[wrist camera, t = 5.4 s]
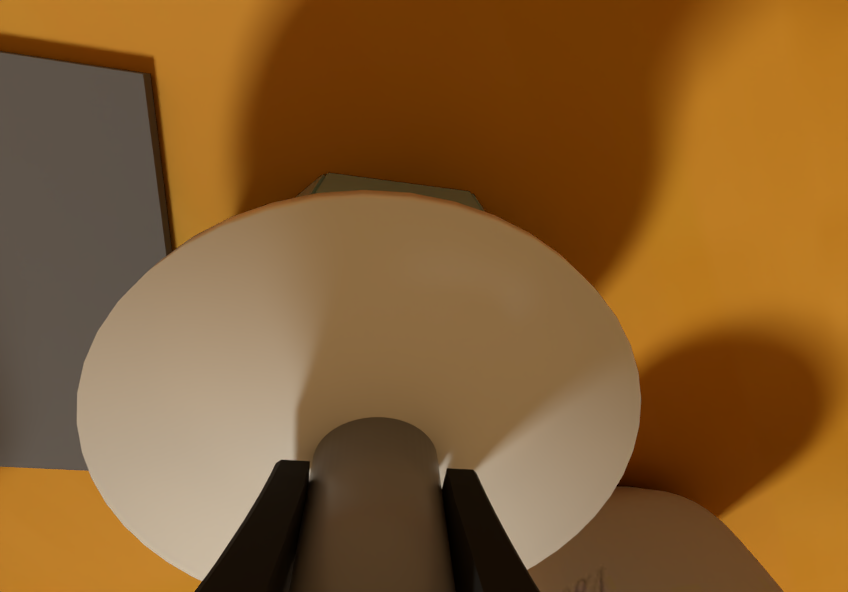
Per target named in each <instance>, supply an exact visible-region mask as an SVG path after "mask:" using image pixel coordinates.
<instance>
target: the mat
mask: <svg viewBox="0 0 848 592" xmlns="http://www.w3.org/2000/svg"><path fill="white" fill-rule="evenodd" d="M171 252H172V247H171V239H170V231H169V223H168V214H167V206H166V198H165V190H164V181H163V173H162V165H161V157H160V149H159V140H158V132H157V124H156V116H155V107H154V99H153V91H152V83H151V75H150V74H148V73H141V72H135V71H128V70H121V69H115V68H108V67H102V66H95V65H88V64H82V63H75V62H69V61H62V60H56V59H49V58H42V57H36V56H29V55H23V54H16V53H9V52H3V51H0V466H2V467H23V468H45V469H66V470H88V467H87V464H86V462H85V459H84V456H83V454H82V450H81V444H80V439H79V433H78V428H77V392H78V387H79V383H80V378H81V374H82V369H83V364H84V361H85V359H86V357H87V354H88V352H89V350H90V347H91V345H92V343H93V340H94V338H95V336H96V334H97V331H98V330H99V328H100V327H101V326H102V324H103V323H104V321H105V320H106V318H107V317H108V315H109V314H110V312H111V311H112V309H113V308H114V307H115V305H116V304H117V302H118V301H119V300H120V299H121V298H122V297H123V296H124V295H125V294H126V293H127V292H128V291H129V290H130V289H131V288H132V287H133V286H134V285H135V284H136V283H137V282H138V281H139V280H140V279H141V278H142V277H143V276H144V275H145V274H146V273H147V272H148V271H149V270H150V269H151V268H152V267H153V266H155V265H156V264H157V263H158V262H159V261H160V260H162V259H163V258H164V257H166V256H167V255H169V254H170V253H171ZM88 471H89V470H88Z"/></svg>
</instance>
